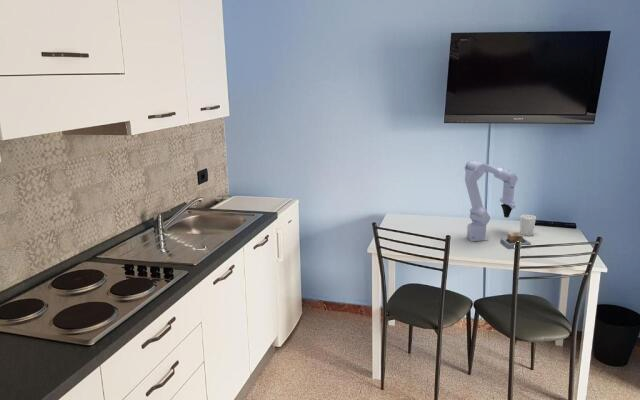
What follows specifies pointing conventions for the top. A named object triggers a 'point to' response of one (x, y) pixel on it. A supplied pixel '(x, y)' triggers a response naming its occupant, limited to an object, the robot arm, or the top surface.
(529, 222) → the white cup
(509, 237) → the tan rounded lump
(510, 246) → the bay
